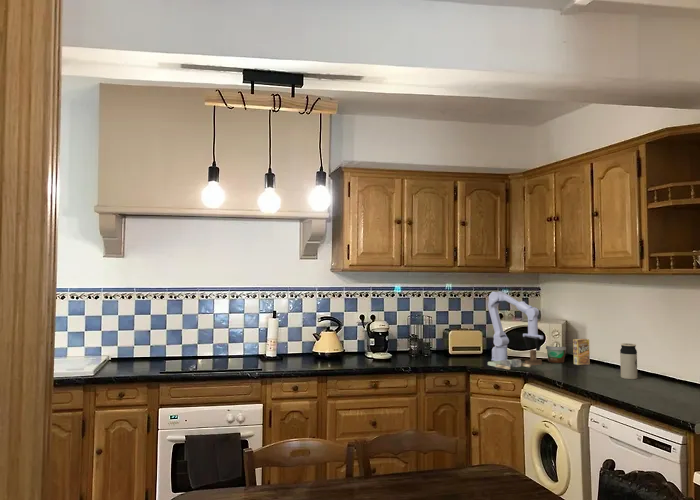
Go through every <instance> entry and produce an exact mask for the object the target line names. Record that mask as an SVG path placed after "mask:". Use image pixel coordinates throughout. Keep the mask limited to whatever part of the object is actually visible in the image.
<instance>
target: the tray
mask: <svg viewBox="0 0 700 500" xmlns="http://www.w3.org/2000/svg"><path fill="white" fill-rule="evenodd" d="M509 360H510V361H511V360H512V359H509ZM496 364H499V365H501V360H500V361H493V360H491V361H487V366H491V367H495V368H497V367H496Z"/></svg>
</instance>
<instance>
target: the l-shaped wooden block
mask: <svg viewBox="0 0 700 500" xmlns="http://www.w3.org/2000/svg"><path fill="white" fill-rule="evenodd" d="M529 356H530V357H529V359H530V360H524V363H525V364H530V367H532V366H540V365H543V361H542V359H540V358H538V359H537V351H536V349H529Z"/></svg>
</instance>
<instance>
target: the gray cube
mask: <svg viewBox="0 0 700 500" xmlns="http://www.w3.org/2000/svg"><path fill="white" fill-rule="evenodd" d="M510 360H511V367H515V368H520V367H522V366H521V363H522V360H521V359H517V358H515V359H514V358H512V359H510Z"/></svg>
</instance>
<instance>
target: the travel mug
mask: <svg viewBox="0 0 700 500" xmlns="http://www.w3.org/2000/svg"><path fill="white" fill-rule="evenodd" d="M620 346H621V347H620V349H619V350H620V351H619V353H620V357H619V358H620V360H619V361H620V378H621V379H624V380H637V379H638V350H637V348H636V346H637V344H636V343H625V342H624V343H620Z"/></svg>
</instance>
